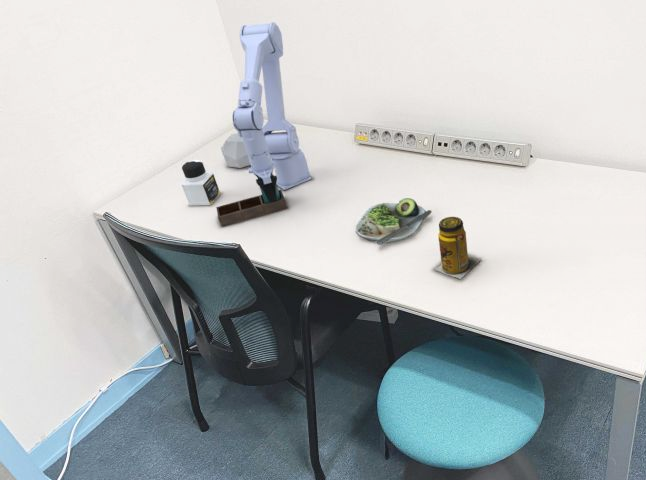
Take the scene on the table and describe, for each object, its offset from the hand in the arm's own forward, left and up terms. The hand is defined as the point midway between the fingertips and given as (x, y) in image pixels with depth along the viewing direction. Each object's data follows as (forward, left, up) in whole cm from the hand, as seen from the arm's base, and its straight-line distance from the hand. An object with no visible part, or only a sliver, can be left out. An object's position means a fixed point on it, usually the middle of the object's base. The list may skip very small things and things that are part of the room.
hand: (271, 196), depth 171 cm
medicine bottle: (+14, -21, -4) cm, 25 cm away
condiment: (-20, +59, -4) cm, 63 cm away
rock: (-9, -37, -4) cm, 38 cm away
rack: (+6, -2, -3) cm, 7 cm away
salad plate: (-19, +33, -3) cm, 39 cm away
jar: (0, 0, -2) cm, 2 cm away
